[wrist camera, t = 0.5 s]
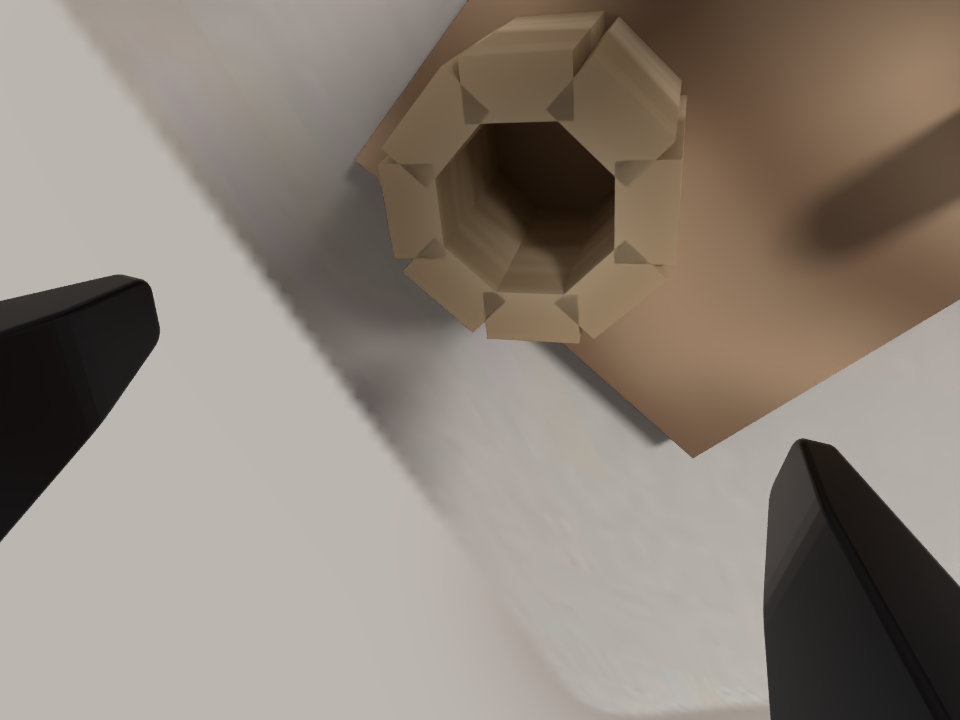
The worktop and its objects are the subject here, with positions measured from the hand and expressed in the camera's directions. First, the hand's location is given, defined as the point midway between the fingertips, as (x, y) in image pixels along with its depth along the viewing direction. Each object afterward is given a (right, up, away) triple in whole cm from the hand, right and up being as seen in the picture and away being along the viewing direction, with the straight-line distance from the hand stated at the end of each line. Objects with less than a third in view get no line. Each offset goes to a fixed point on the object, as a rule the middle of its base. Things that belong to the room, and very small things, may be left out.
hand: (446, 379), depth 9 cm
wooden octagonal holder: (+3, +6, +9) cm, 11 cm away
